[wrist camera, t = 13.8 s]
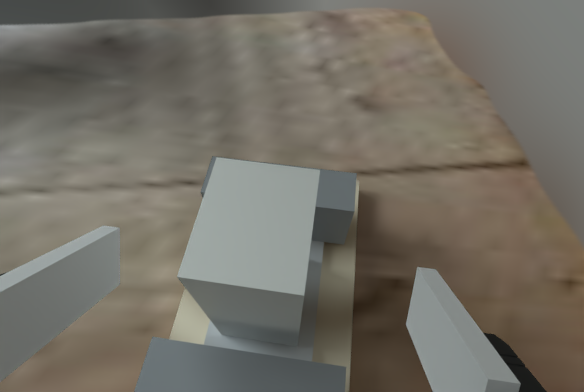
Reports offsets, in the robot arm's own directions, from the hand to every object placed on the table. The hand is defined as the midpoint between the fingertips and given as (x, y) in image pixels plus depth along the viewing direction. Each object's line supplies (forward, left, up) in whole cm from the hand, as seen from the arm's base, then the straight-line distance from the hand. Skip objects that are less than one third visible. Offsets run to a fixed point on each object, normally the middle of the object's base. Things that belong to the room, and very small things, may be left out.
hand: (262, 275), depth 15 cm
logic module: (-2, 0, -9) cm, 10 cm away
